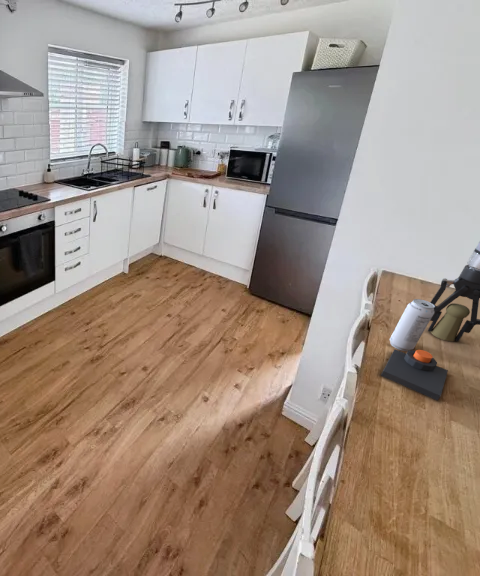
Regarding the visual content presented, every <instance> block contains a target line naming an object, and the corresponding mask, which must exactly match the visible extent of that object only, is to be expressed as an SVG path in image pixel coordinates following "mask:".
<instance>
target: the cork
mask: <svg viewBox="0 0 480 576" xmlns="http://www.w3.org/2000/svg"><path fill="white" fill-rule="evenodd" d="M469 315H471V311H470V308H469V307H468V306H465V305H463V304H460V303H453V302H451V303H450V304H448V305H447V306H446V307H445V313H444V314H443V316H442V317H441V318H440V319H439V321H437V322H436V324H435V325H434V327H433V329H432V331H431V332H430V333H431V335H432V336H434V337H436V338H437V339H440V340H443V341H447V342H454V341H455V339H456V336H457V335H458V333H459V332H460V330H461V326H462V324H463V321H464V319H465V318H467V317H468V316H469Z"/></svg>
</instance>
